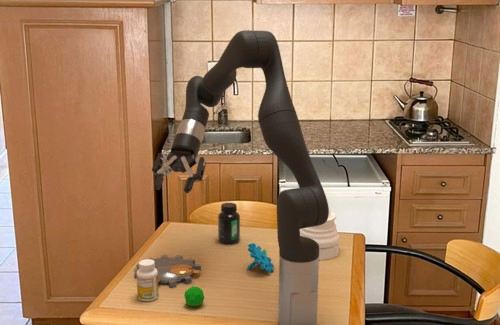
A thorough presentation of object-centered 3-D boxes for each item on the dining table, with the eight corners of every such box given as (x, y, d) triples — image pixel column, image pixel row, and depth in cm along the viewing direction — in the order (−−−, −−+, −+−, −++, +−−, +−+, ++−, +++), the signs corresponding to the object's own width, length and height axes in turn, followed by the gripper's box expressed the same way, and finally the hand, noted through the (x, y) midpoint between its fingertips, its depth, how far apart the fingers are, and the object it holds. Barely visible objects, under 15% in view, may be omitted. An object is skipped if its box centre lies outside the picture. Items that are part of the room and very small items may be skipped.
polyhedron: (208, 304, 160) (208, 287, 158) (194, 311, 156) (193, 294, 155) (194, 298, 163) (194, 281, 162) (180, 305, 159) (180, 287, 158)
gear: (271, 273, 173) (247, 246, 174) (255, 286, 175) (232, 259, 176) (279, 263, 184) (257, 237, 185) (265, 275, 186) (242, 249, 186)
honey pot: (338, 261, 186) (340, 203, 181) (294, 258, 188) (295, 200, 183) (339, 244, 198) (341, 189, 193) (297, 242, 200) (299, 187, 195)
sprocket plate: (207, 283, 171) (206, 277, 171) (138, 291, 167) (137, 285, 166) (194, 256, 188) (194, 251, 188) (132, 263, 184) (131, 257, 183)
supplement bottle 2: (239, 244, 197) (239, 208, 194) (217, 244, 197) (217, 208, 194) (240, 236, 204) (239, 201, 201) (218, 236, 204) (218, 201, 201)
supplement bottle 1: (149, 290, 167) (147, 256, 165) (163, 296, 164) (161, 261, 161) (133, 297, 163) (131, 262, 161) (147, 304, 160) (145, 268, 157)
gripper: (160, 129, 176) (142, 180, 169) (208, 133, 172) (191, 186, 164) (169, 144, 182) (152, 193, 175) (215, 148, 178) (200, 199, 170)
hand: (171, 190), depth 170 cm, fingers open, 8 cm apart
